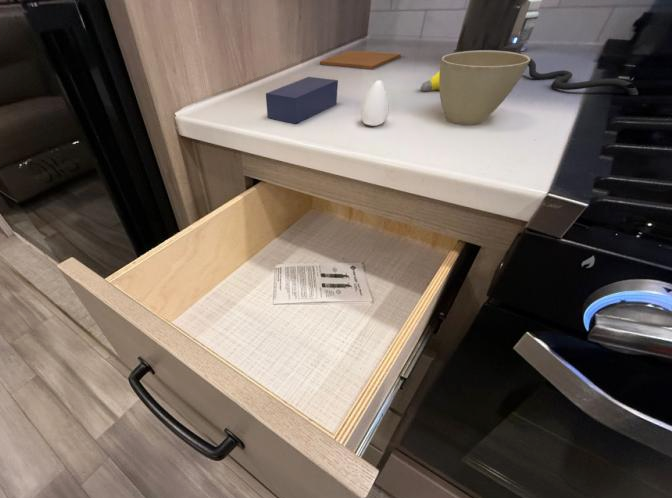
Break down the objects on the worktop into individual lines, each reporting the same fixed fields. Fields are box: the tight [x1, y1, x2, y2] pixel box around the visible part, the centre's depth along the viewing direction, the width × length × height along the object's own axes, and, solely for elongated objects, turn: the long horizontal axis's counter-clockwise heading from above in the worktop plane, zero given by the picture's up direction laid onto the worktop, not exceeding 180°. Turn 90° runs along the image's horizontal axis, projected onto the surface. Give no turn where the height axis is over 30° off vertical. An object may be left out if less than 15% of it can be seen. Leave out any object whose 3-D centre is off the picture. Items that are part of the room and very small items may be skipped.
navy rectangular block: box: [265, 76, 339, 125], centre depth 52 cm, size 11×6×4 cm, turn 138°
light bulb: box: [420, 69, 440, 93], centre depth 55 cm, size 3×6×4 cm, turn 95°
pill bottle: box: [516, 0, 543, 53], centre depth 69 cm, size 5×5×8 cm
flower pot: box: [439, 50, 531, 126], centre depth 43 cm, size 10×10×7 cm
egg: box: [360, 79, 390, 127], centre depth 45 cm, size 4×4×6 cm
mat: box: [319, 50, 402, 70], centre depth 76 cm, size 14×13×1 cm
